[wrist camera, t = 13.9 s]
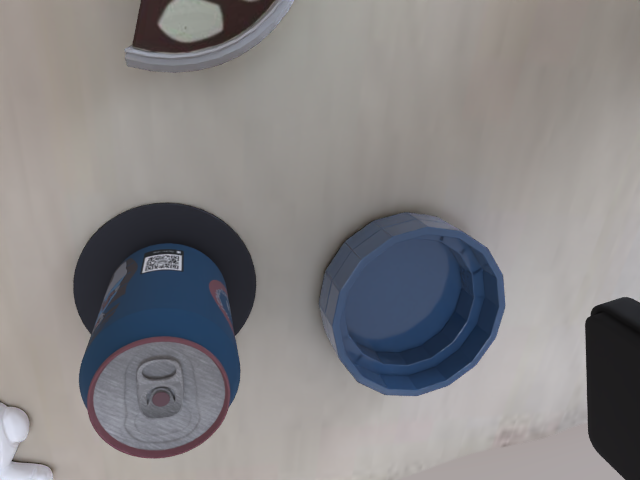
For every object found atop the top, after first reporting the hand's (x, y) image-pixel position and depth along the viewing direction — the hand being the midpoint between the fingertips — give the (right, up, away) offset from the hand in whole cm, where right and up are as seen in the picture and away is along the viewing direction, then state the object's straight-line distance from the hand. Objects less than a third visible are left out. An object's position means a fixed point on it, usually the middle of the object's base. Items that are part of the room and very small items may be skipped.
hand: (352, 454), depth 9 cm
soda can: (-10, +1, +24) cm, 26 cm away
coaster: (-10, +1, +24) cm, 26 cm away
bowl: (+5, 0, +28) cm, 29 cm away
